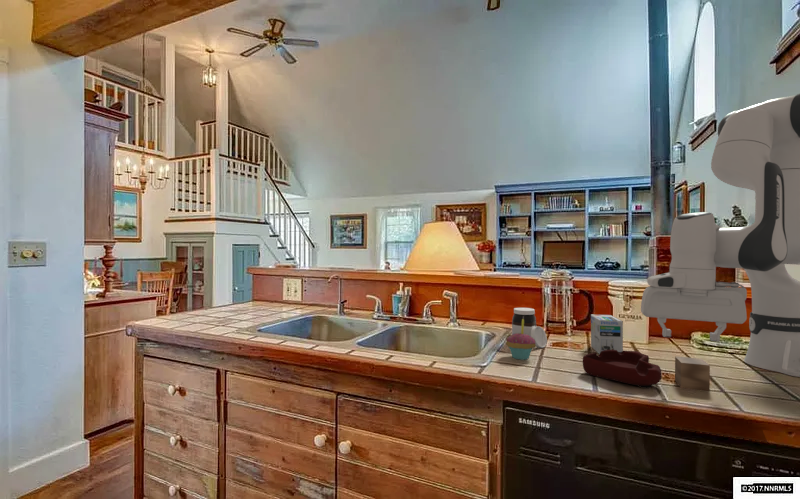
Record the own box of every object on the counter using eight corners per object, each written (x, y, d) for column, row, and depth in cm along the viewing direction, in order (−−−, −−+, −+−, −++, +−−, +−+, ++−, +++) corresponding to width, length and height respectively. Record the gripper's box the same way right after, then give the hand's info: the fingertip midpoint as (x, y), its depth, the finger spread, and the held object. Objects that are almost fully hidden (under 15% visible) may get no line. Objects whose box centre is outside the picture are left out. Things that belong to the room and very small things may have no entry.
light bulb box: (623, 356, 119) (623, 320, 119) (599, 355, 120) (599, 320, 120) (612, 347, 129) (612, 314, 129) (589, 346, 131) (589, 313, 130)
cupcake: (511, 352, 124) (511, 313, 124) (539, 356, 119) (539, 316, 119) (501, 358, 117) (501, 318, 117) (530, 363, 112) (530, 321, 112)
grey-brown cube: (702, 383, 96) (702, 358, 96) (709, 391, 91) (709, 365, 91) (674, 380, 98) (675, 356, 98) (680, 388, 93) (681, 362, 93)
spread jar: (515, 338, 141) (515, 306, 141) (548, 342, 136) (548, 308, 136) (508, 346, 131) (508, 311, 130) (545, 350, 126) (545, 314, 125)
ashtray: (578, 364, 112) (578, 346, 112) (644, 369, 107) (644, 351, 107) (587, 385, 95) (587, 365, 95) (666, 393, 90) (666, 371, 90)
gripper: (741, 281, 93) (739, 340, 93) (640, 277, 101) (639, 331, 101) (753, 284, 87) (751, 346, 87) (644, 279, 95) (643, 337, 95)
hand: (690, 338), depth 94 cm, fingers open, 8 cm apart
